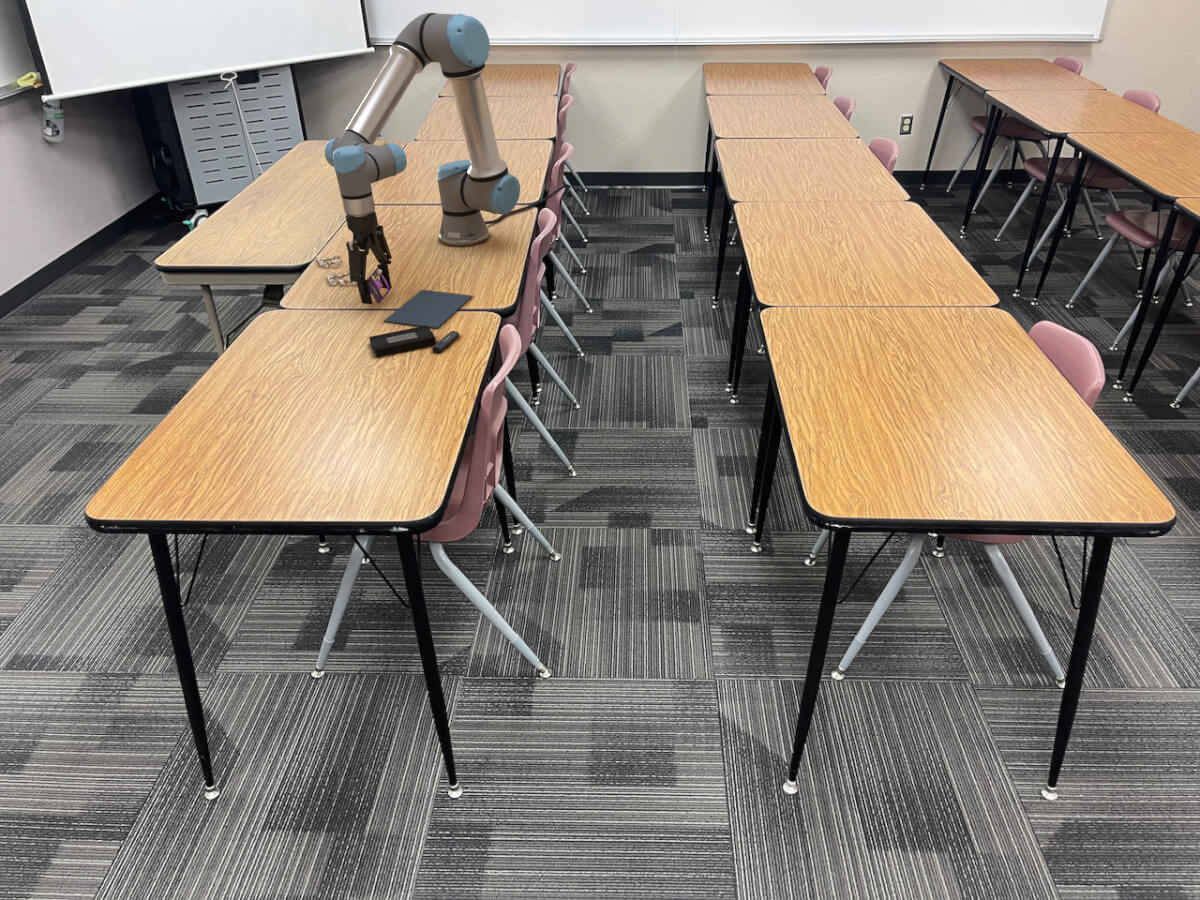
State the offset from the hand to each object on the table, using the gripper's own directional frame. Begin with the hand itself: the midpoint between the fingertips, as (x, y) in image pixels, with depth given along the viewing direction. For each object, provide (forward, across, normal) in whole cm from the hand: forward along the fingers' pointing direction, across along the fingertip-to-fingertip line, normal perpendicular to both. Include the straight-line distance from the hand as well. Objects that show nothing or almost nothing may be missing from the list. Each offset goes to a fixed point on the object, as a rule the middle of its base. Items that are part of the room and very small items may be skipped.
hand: (377, 295), depth 216 cm
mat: (+2, 0, +15) cm, 16 cm away
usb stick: (+2, +17, +29) cm, 34 cm away
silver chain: (+2, -15, -23) cm, 28 cm away
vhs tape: (+2, +20, +19) cm, 28 cm away
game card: (0, 0, 0) cm, 0 cm away
